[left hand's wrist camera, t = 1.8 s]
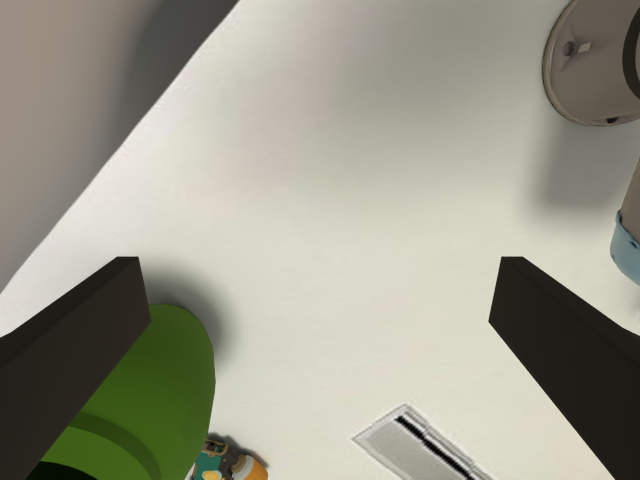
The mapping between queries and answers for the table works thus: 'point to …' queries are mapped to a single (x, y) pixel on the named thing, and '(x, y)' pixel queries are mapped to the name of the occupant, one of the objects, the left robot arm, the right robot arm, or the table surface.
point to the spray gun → (226, 464)
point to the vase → (143, 409)
